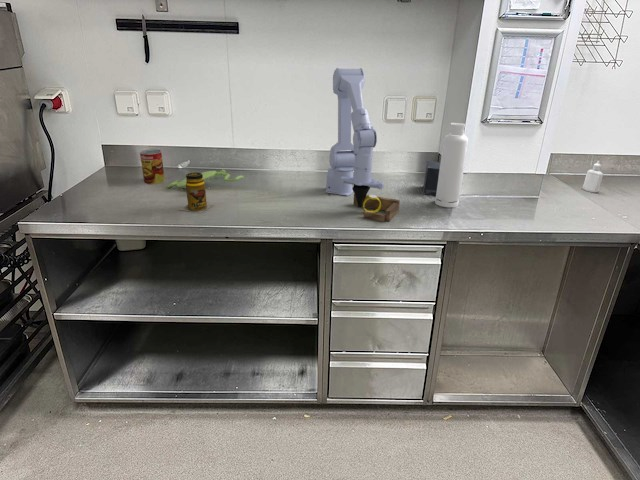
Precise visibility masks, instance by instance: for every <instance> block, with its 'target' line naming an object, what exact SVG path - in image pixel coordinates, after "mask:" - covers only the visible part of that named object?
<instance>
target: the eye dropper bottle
mask: <svg viewBox="0 0 640 480" xmlns="http://www.w3.org/2000/svg"><path fill="white" fill-rule="evenodd" d="M600 163H601V161H600V160H597V161H596V163H594V164H593V167H592V169H588V170H587V172H586V175H585V179H584V182H583V185H582V190H583V191H586V192H588V193H593V194H595V193H598V192H599V190H600V187H601V184H602V180H603V177H604V173H603V172H602V171H601V167H602V165H601V164H600Z"/></svg>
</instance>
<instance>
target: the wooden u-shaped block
mask: <svg viewBox="0 0 640 480" xmlns="http://www.w3.org/2000/svg"><path fill="white" fill-rule="evenodd" d="M369 195H370V194H367V195H366V197H365V199H366V198H367V197H369ZM377 198H379V200H380V202H381V208H380V210H379V211H385V214H382V213H372V212H366V211H365V210H364V212H363V216H362V217H363V219H367V220H372V221H377V222H391V220H392V219H394V218H395V216H396V215H397V214H398V213H399V212H400V202H401V201H400V199H394V198H390V197H389V198H388V197H383V196H377ZM352 204H353V206H357V207H358V203H357V199H356V196H355V193H353V203H352ZM364 207H365V208H370V209H375V210H376V209H378V207H379V201H378V200H377V199H369V200H367V201H366V202H365V206H364ZM361 208H363V206H362V207H361Z"/></svg>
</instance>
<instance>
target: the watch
mask: <svg viewBox="0 0 640 480" xmlns="http://www.w3.org/2000/svg"><path fill="white" fill-rule="evenodd" d="M368 195H369V197H367V198H366V199H365V200H364V201H363V207H362V208H363V210H364V212H365V211H366V212H372V213H377V212H380V211H381V210H380V208H381V202H380V200H379V198H377V197H378V196H377V194H368ZM369 199H377V200H378V201H379V207H378V209H375V210H367V209H366V207H364V206H365V202H366V201H367V200H369ZM377 214H378V213H377Z"/></svg>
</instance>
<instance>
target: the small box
mask: <svg viewBox="0 0 640 480" xmlns="http://www.w3.org/2000/svg"><path fill="white" fill-rule="evenodd" d="M440 163H441V161H432V160H430V161H429V160H426V167H425V173H424V181H423V190H422V192H423V194H424V195H431V196H432V195H433V196H436V192H437V185H438V177H439V170H440Z"/></svg>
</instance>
